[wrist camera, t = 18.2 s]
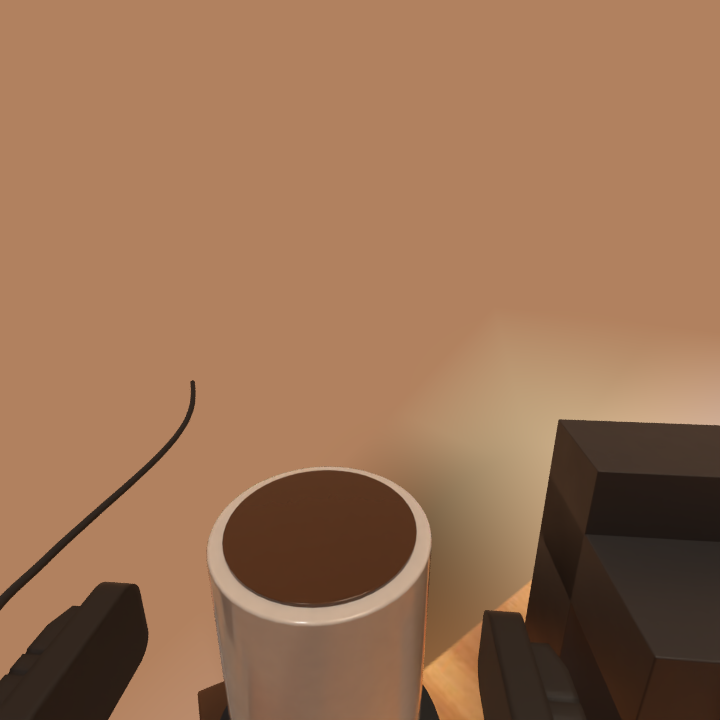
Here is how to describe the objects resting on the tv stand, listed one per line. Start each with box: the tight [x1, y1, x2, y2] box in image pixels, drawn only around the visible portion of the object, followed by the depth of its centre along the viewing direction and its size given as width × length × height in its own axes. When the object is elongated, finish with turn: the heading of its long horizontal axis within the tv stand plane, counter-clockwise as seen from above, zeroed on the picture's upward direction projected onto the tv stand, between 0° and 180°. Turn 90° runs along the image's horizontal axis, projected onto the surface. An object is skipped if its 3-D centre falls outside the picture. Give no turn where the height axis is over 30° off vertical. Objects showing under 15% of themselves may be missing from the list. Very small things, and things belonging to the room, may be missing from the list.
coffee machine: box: [525, 420, 720, 720], centre depth 24 cm, size 16×12×24 cm
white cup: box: [207, 467, 432, 720], centre depth 13 cm, size 6×6×9 cm
